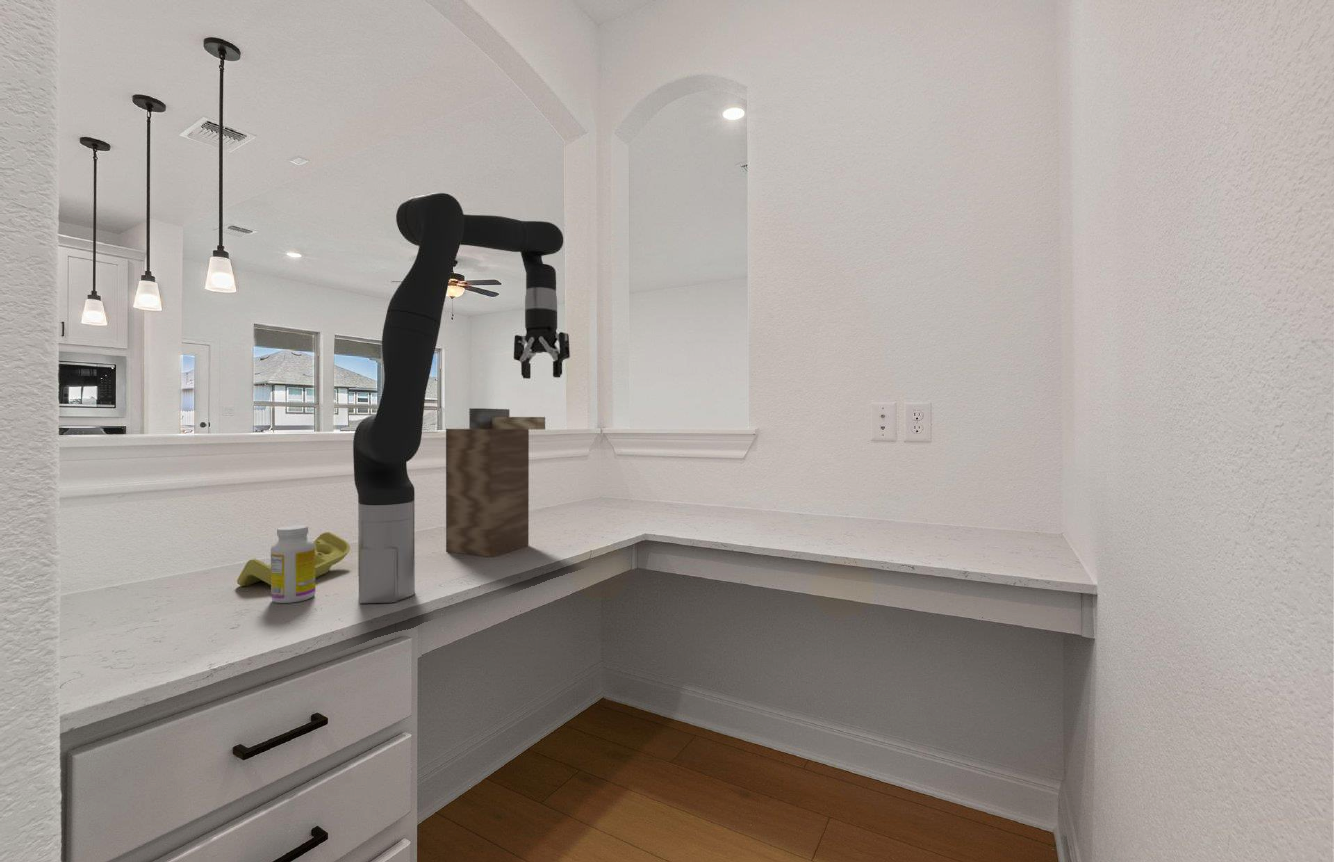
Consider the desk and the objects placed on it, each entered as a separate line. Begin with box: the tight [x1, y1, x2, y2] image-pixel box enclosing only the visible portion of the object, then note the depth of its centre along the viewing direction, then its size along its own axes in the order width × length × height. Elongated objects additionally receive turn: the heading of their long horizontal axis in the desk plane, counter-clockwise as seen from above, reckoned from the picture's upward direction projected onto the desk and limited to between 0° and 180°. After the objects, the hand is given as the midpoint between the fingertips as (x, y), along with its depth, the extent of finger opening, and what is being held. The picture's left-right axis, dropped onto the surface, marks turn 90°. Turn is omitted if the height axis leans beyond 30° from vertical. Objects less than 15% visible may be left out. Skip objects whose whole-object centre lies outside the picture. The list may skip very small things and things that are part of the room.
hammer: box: [468, 407, 546, 431], centre depth 140 cm, size 18×10×5 cm, turn 67°
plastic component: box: [236, 531, 351, 587], centre depth 118 cm, size 20×7×10 cm
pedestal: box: [445, 428, 530, 558], centre depth 144 cm, size 14×14×30 cm
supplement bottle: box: [270, 524, 316, 604], centre depth 103 cm, size 7×7×13 cm
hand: (541, 377), depth 137 cm, fingers open, 8 cm apart
